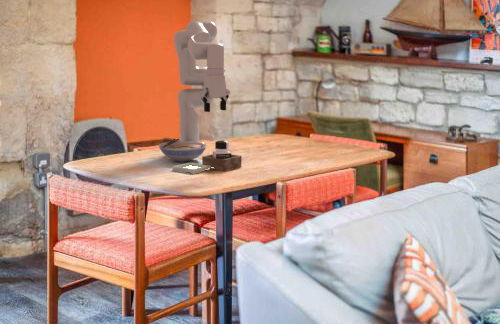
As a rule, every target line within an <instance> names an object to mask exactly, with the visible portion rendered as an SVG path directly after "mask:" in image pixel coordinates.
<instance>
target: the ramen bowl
mask: <svg viewBox="0 0 500 324" xmlns="http://www.w3.org/2000/svg"><path fill="white" fill-rule="evenodd" d="M207 146H208V145H207V143H204V142H200V141H199V142H191V141H180V138H177V139H176V138H173V139H172V140H170V141H167V142H166V141H165V142H162V143H159V144H158V148H159V150H160V151H161V153H162V154H163V155H164V156H165V157H167V158H168V159H170V160H173V161H175V162H178V161H187V162H190V160H191V161H192V160H194V159H196V158H199V157H200V156H201V155H202V154H203V153H204V152H205V150H206V149H207Z"/></svg>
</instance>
